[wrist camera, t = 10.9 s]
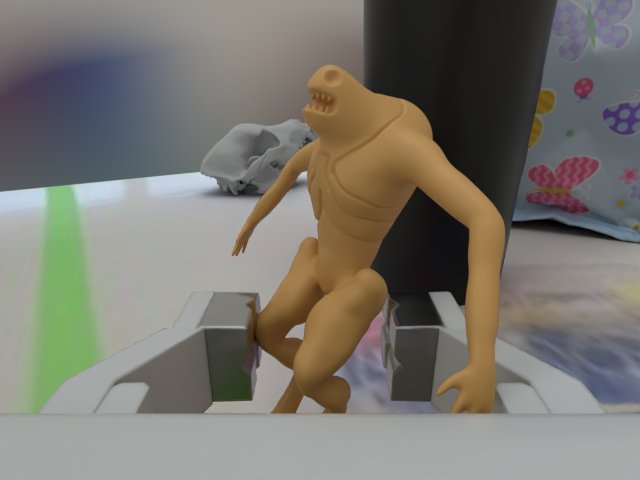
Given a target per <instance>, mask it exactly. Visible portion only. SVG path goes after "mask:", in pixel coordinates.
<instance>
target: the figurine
mask: <svg viewBox="0 0 640 480" xmlns="http://www.w3.org/2000/svg"><path fill="white" fill-rule="evenodd" d="M307 89H308V91H309V93H310V94H311V99H312V106H311V104H310V103H309V104H307V105H306V107H305V109H303V116H304V119H305V121H306V123H307V125H308V126H309V127H310V128H312V129H313V130H314V131H315V132H316V133H317V135H318V136H319V137H318V138H317V139H316V140H315V141H313V142H311V143H309V144H307V145H306V146H304V147H303V148H302V149H300V150H299V151H298V152H297V153H296V154H295V155H294V156H293V157H292V158H291V159H290V160H289V161H288V163H287V164H286V165H285V167H284V168H283V170H282V172H281V174H280V175H279V177H278V179H277V181H276V182H275V183H274V184H273V185H272V186H271V187H270V188H269V190H268V191H267V192H266V193H265V194H264V195H263V196H262V197H261V199H260V200H259V201H258V203H257V204H256V206H255V208H254V210H253V212H252V213H251V215H250V216H249V218H248V219H247V221H246V223H245V225H244V226H243V228H242V230H241V232H240V234H239V236H238V238H237V240H236V244H235V247H234V249H233V252H232V256H234V254H235V255H236V256H237V255H238V254H239V252H240V250H241V248H242V246H243V249H242V253H244V251H245V248H246V245H247V242H248V239H249V238H250V236H251V235H252V232H253V230H254V228H255V227H256V226H257V224H258V223H259V222H260V221H261V220H262V219H263V218H265V217H266V216H267V215H268V214H269V213H270V212H271V211H272V210H273V209H274V208H275V207H276V206H277V204H278V203H279V202H280V201H281V200H282V198H283V197H284V196H285V194H286V193H287V192H288V191H289V190H290V188H291V187H292V186H293V184H294V183H295V181H296V179H297V177H298V175H299V174H300V173H301V172H304V171H308V172H307V178H308V180H307V185H308V190H309V194H310V196H311V201H312V206H313V211H314V215H315V218H316V219H317V220H318V221H319V222H318V240H317V239H315V238H313V237H308V238H306V239H304V240H303V242H302V243H301V245H300V248H299V251H298V253H297V255H296V256H295V258H294V260H293V263H292V266H291V268H290V271H289V273H288V275H287V276H286V278H285V279H284V280H283V282H282V283H281V285H280V286H279V288H278V289H277V291H276V292H275V294H274V296H273V297H272V299H271V300H270V302H269V303H268V305H267V306H266V307H265V308H264V310H263V311H261V312H260V313H259V314H258V320H257V326H256V328H255V330H254V335H255V337H256V339H257V340H258V343H259V346H260V347H261V348H262V349H263V350H264V351H266V352H267V353H269V354H270V355H272V356H273V357H275V358H276V359H277V360H278V361H279V362H280V363H282V364H283V365H284V366H286V367H288V368H290V369H292V370H293V371H294V375H293V377H292V379H291V381H290V384H289V385H288V387H287V389H286V391H285V393H284V394H283V396H282V397H281V399H280V400H279V402H278V403H277V405H276V407H275V408H274V410H273V411H272V412H271V413H296V411H297V408H298V406H299V404H300V402H301V400H302V398H303V396H304V395H305V396H307V397H309V398H311V399H313V400H314V401H316V402H317V403H318V404H319V405H321V406H323V407H324V408H326V409H325V410H324V411H323V413H346V409H347V403H348V401H349V399H350V394H351V390H350V386H349V384H348V382H347V381H346V380H345V379H343V378H341V377H338V376H333V374H334V373H335V372H336V371H337V370H339V369H340V368H341V367H342V366H343V365H344V364H345V362H346V361H347V360H348V359H349V358H350V356H351V355H352V353H353V352H354V350H355V348H356V347H357V345H358V343H359V342H360V340H361V338H362V337H363V335H364V334H365V333H366V332H367V330H368V328H369V326H370V324H371V322H372V320H373V319H374V318H375V317H376V316H377V315H378V314H379V312H380V311H381V310H382V308H383V307H384V305H385V303H386V300H387V294H388V291H387V286H386V283H385V281H384V279H383V278H382V277H381V276H380V275H379V274H378V273H377V272H376V271H374V270H372V269H370V266H371V264H372V262H373V260H374V259H375V257H376V255H377V252H378V250H379V248H380V245H381V243H382V240H383V238H384V237H385V236H386V234H387V233H388V231H389V230H390V228H391V227H392V225H393V223H394V221H395V220H396V218H397V217H398V215H399V214H400V212H401V211H402V209H403V208H404V206H405V205H406V203H407V202H408V200H409V198H410V197H411V195H412V194H413V192H414V190H415V189H416V187H417V186H418V187H419V188H420V189H421V190H422V191H423V192H425V193H426V194H427V195H428V196H429V197H430V198H431V199H433V200H434V201H435V202H436V203H437V204H438V205H440V206H441V207H442V208H443V209H444V210H445V211H447V212H448V213H449V214H450V215H451V216H453V217H454V218H455V219H457V220H458V221H459V222H461V223H462V224H464V225H465V226H466V227H468V228H469V249H468V263H469V278H468V285H467V292H466V302H465V327H466V336H467V346H468V352H469V363H468V365H467V367H466V368H465V369H464V370H462V371H460V372H457V373H455V374H453V375H452V376H450V377H449V378H448V379H447V380H446V381H445V382H444V383H443V384H442V385H441V386H440V387H439V389H438V390H437V393H436V394H437V395H438V396H439V395H442V394H443V393H445V392H446V391H448V390H449V389H451V388H456V389H458V390H459V394H458V397H457V399H456V401H455V403H454V405H453V407H452V409H451V412H450V413H462V412H463V411H467V413H491V411H492V407H493V403H494V396H495V385H496V365H495V342H496V335H497V330H498V324H499V298H500V269H501V263H502V257H503V252H504V246H505V226H504V221H503V219H502V217H501V215H500V213H499V212H498V210H497V209H496V207H495V206H494V205H493V203H492V202H491V201H490V200H489V199H488V198H487V197H486V196H485V195H484V194H483V193H482V192H481V191H480V190H479V189H478V188H477V187H476V186H475V185H474V184H473V183H472V182H471V181H470V180H469V179H468V178H467V177H466V176H464V175H463V174H462V173H461V172H459V171H458V170H457V169H455V168H454V167H453V166H452V165H451V164H450V163H449V161H448V160H447V158H446V157H445V155H444V153H443V151H442V150H441V148H440V147H439V146H438V145H437V144H436V143H435V142H434V141H433V136H432V129H431V126H430V123H429V121H428V119H427V117H426V116H425V115H424V113H423V112H422V111H421V110H420V109H419V108H418V107H417V106H415V105H414V104H412V103H411V102H409V101H406V100H403V99H399V98H395V97H390V96H386V95H382V94H376V93H373V92H371V91H370V90H368V89H366V88H365V87H364V86H362V85H361V84H360V83H359V82H358V81H357V80H356V79H354V78H353V77H352V76H351V75H350V74H349V73H347V72H346V71H344V70H343V69H341V68H339V67H337V66H334V65H326V66H324V67H322V68H320V69H319V70H318V71H317V72H316V73H315V74H314V75H313V76H312V78H311V79H310V81H309V83H308V85H307ZM325 295H326V296H325ZM324 296H325V297H324ZM305 322H306V324H305V331H304V338H303V341H302V340H301V339H298V338H285V337H286V335H287V334H288V332H289V331H290V330H291V329H292V328H293V327H294V326H296V325H299V324H302V323H305Z"/></svg>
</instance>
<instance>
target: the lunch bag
mask: <svg viewBox="0 0 640 480" xmlns="http://www.w3.org/2000/svg"><path fill="white" fill-rule="evenodd" d="M539 90H540V94H539V93H538V94H539V99H538V98H537V101H538V103H537V108H536V113H535V114H534V115H535V118H534V119H533V120H534V123H533V124H532V125H533V127H532V130H531V131H532V132H531V133H530V136H531V137H530V138H529V140H530V142H529V143H528V145H529V147H528V152H526V153H527V157H526V161H525V166H524V170H523V174H522V176H521V181H520V186H519V190H518V195H517V200H516V205H515V210H514V215H513V220H512V221H527V220H540V219H551V220H554V221H557V222H559V223H563V224H567V225H571V226H578V227H583V228H586V229H590V230H594V231H597V232H600V233H603V234H606V235H610V236H612V237H614V238H617V239H620V240H623V241H631V242H635V243H640V0H558V1H557V6H556V11H555V16H554V20H553V25H552V30H551V35H550V40H549V45H548V50H547V54H546V59H545V64H544V69H543V78H542V83H541V89H539Z"/></svg>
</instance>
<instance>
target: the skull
mask: <svg viewBox="0 0 640 480" xmlns="http://www.w3.org/2000/svg"><path fill="white" fill-rule="evenodd" d="M316 139H317V133H316V132H315V131H314V130H313V129H312V128H310V127H309V126H308V125H307V124H303V123H301V122H300V120H294V119H290V120H288V121H287V122H284V123H282V124H279V125H275V126H261V125H257V124H252V123H246V124H240V125H237V126H235V127H233V128H232V129H231V131H230V132H229V133H228V134H227V135H226V136H225V137H224V138H223V139H222V140H220V141H219V142H218V143H217V144H216V145H215V146H214V147H213V148H212V149H211V150H210V151H209V152H208V153H207V154H206V156H205V158H204V159H203V161H202V165H201V169H200V172H201V174H203V175H205V176H209V177H213V178H215V179H217V184H218V185H219V187H220V189H221V190H224V191H225V192H227V191H228V190H229V188H230V190H231V191H232V192H233V194H234V195H238V191H241V190H243V189H244V188H245V187H246V186H247V184H253V185H256V186H257V187H258V190H257V192H258V193H259V194H264V193H266V192H267V191H268V190H269V188H270V187H271V186H272V185H273V184H274V183H275V182H276V181H277V179H278V177H279V175H280V174H281V172H282V170H283V168H284V167H285V165H286V164H287V163H288V161H289V160H290V159H291V158H292V157H293V156H294V155H295V154H296V153H297V152H298V151H299V150H300V149H302V148H303V147H304V146H306V145H307V144H309V143H311V142H313V141H315V140H316ZM302 142H303V143H302ZM301 173H302V172H301ZM301 173H300V174H301ZM300 174H299V175H300ZM299 175H298V176H299Z"/></svg>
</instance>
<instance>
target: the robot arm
mask: <svg viewBox="0 0 640 480" xmlns="http://www.w3.org/2000/svg"><path fill="white" fill-rule="evenodd" d="M260 310H261V309H260V297H259V293H243V292H193V293H192V294H191V295H190V297H189V299H188V300H187V302H186V304H185V306H184V307H183V309H182V311H181V312H180V314H179V316H178V318H177V319H176V321H175V323H174V325H173V326H172V328H164V329H162V330H160V331H158V332H156V333H155V334H153V335H151V336H149V337H147V338H145V339H143V340H141V341H139V342H137V343H135V344H133V345H132V346H130V347H128V348H126V349H124V350H122V351H120V352H118V353H116V354H114V355H112V356H110V357H109V358H107V359H105V360H103V361H101V362H99V363H97V364H95V365H93V366H91V367H89V368H87V369H86V370H84V371H82V372H80V373H78V374H76V375H74V376H72V377H70V378H68V379H66V380H64V381H63V382H62V384H61V385H60V386H59V387H58V388H57V390H56V391H55V392H54V393H53V395H52V396H51V397H50V398H49V399H48V401H47V402H46V403H45V404H44V405H43V407H42V408H41V409H40V410H39V411H38V413H6V414H0V480H640V413H607V412H606V410H605V409H604V408H603V407H602V406H601V404H600V403H599V402H598V401H597V400H596V398H595V397H594V396H593V395H592V394H591V392H590V391H589V390H588V389H587V388H586V386H585V385H584V384H583V383H582V382H581V381H579V380H578V379H576V378H574V377H572V376H570V375H568V374H566V373H564V372H562V371H560V370H558V369H556V368H554V367H553V366H551V365H549V364H547V363H545V362H543V361H541V360H539V359H537V358H535V357H533V356H531V355H529V354H528V353H526V352H524V351H522V350H520V349H518V348H516V347H514V346H512V345H510V344H508V343H506V342H504V341H502V340H501V339H499V338H497V337H496V342H495V365H496V385H495V396H494V403H493V407H492V411H491V413H467V411H463V412H462V413H450V412H451V409H452V407H453V405H454V403H455V401H456V399H457V397H458V394H459V390H458V389H456V388H451V389H449V390H448V391H446V392H445V393H443V394H442V395H439V396H438V395H437V394H436V393H437V390H438V389H439V387H440V386H441V385H442V384H443V383H444V382H445V381H446V380H447V379H448V378H449V377H450V376H452V375H453V374H455V373H457V372H460V371H462V370H464V369H465V368H466V367H467V365H468V363H469V352H468V346H467V336H466V327H465V316H464V314H463V312H462V311H461V309H460V307H459V306H458V304H457V302H456V301H455V299H454V297H453V296H452V294H451V293H450V292H448V291H446V292H400V293H388V294H387V300H386V303H385V305H384V307H383V308H382V311H383V315H384V319H385V323H384V324H383V325H382V326H381V355H382V361H383V366H384V367H385V368H386V369H387V376H386V381H387V385H388V389H389V394H390V398H391V401H422V402H431V404H432V405H433V406H434V407H435V408H436V409H437V410H438V411H439V412H440V413H204V412H205V411H206V410H207V409H208V408H209V407H210V406H211V405H212V404H213V402H221V401H252V399H253V395H254V390H255V385H256V381H257V376H256V369H257V368H258V367H259V366H260V360H261V352H262V348H261V347H260V346H259V343H258V340H257V339H256V337H255V335H254V330H255V328H256V326H257V320H258V314H259V313H260Z"/></svg>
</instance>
